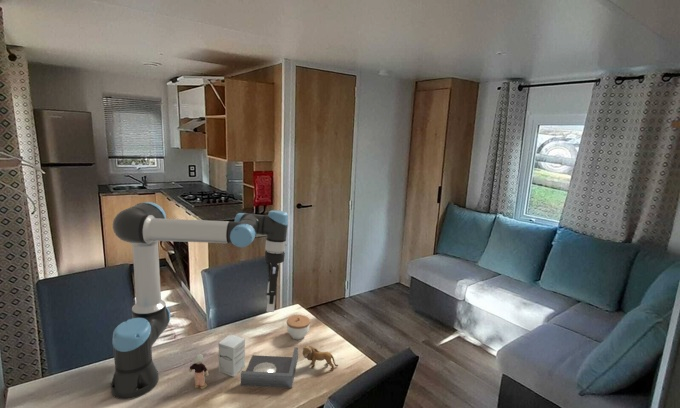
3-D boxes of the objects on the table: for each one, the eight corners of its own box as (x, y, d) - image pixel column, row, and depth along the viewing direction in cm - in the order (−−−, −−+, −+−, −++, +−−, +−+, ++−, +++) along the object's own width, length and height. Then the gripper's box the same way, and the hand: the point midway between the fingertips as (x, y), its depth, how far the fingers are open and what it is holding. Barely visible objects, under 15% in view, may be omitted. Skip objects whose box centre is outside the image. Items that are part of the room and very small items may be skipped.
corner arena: (240, 385, 133) (240, 373, 132) (252, 356, 151) (252, 345, 150) (291, 388, 133) (292, 376, 132) (297, 358, 151) (298, 347, 150)
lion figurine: (301, 370, 143) (302, 350, 142) (302, 362, 149) (303, 342, 147) (338, 371, 144) (339, 350, 142) (337, 362, 149) (338, 343, 148)
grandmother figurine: (211, 382, 134) (210, 352, 132) (208, 389, 130) (207, 358, 128) (191, 381, 134) (189, 351, 132) (186, 388, 130) (185, 357, 128)
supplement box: (218, 372, 140) (217, 342, 138) (230, 361, 147) (230, 333, 144) (233, 377, 137) (233, 348, 135) (245, 366, 144) (245, 338, 142)
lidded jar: (308, 342, 162) (309, 323, 161) (284, 341, 162) (285, 322, 161) (310, 330, 173) (311, 312, 171) (288, 329, 173) (288, 311, 171)
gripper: (286, 260, 126) (281, 318, 129) (283, 244, 151) (278, 293, 153) (264, 259, 125) (259, 317, 127) (265, 243, 149) (260, 292, 151)
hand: (270, 304), depth 140 cm, fingers open, 13 cm apart
